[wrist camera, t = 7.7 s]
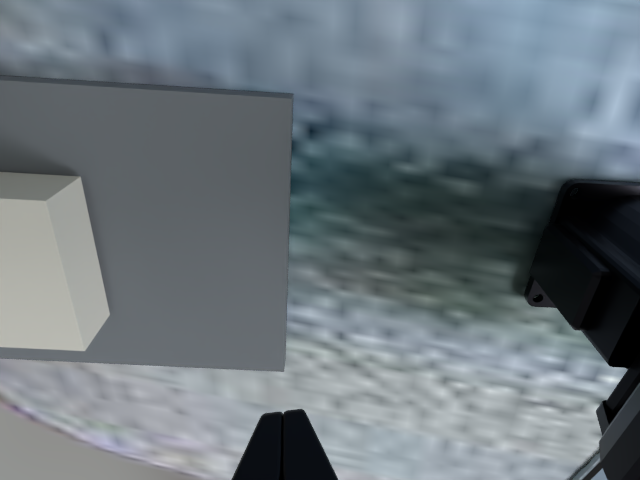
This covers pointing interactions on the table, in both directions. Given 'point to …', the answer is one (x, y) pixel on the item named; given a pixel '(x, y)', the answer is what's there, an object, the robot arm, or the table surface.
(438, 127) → the table surface
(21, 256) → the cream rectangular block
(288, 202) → the mat
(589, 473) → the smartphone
